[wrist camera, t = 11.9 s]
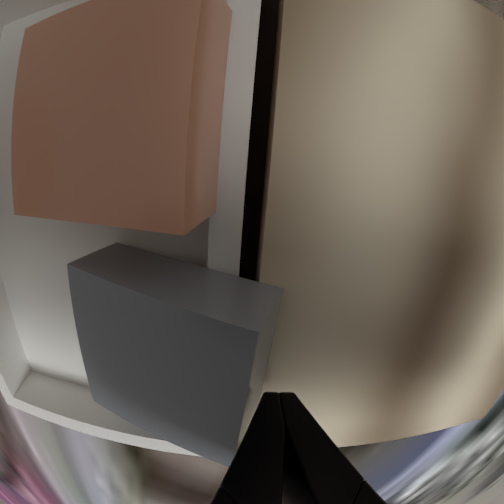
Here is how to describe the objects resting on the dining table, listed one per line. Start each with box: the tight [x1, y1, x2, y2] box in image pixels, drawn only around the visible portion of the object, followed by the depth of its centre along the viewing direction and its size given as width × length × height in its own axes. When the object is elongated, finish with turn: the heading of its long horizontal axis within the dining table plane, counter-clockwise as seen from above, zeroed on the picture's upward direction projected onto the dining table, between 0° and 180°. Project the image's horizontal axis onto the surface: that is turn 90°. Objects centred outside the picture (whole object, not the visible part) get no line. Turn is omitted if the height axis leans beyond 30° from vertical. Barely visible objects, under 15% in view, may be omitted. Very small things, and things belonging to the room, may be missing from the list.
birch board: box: [255, 0, 504, 447], centre depth 8 cm, size 12×16×2 cm
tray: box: [0, 0, 262, 456], centre depth 8 cm, size 10×16×2 cm, turn 175°
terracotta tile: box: [11, 0, 232, 236], centre depth 6 cm, size 5×5×2 cm
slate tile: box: [67, 242, 284, 466], centre depth 8 cm, size 5×5×2 cm
